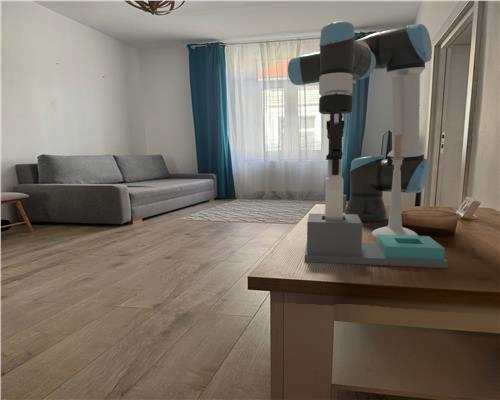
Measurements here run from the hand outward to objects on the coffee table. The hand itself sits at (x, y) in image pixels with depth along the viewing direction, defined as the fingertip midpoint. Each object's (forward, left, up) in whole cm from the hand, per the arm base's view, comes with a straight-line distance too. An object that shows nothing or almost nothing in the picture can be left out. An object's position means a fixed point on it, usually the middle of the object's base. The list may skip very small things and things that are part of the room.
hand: (333, 187), depth 86 cm
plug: (0, 0, -10) cm, 10 cm away
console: (+6, +6, -16) cm, 18 cm away
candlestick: (-4, +30, -17) cm, 34 cm away
